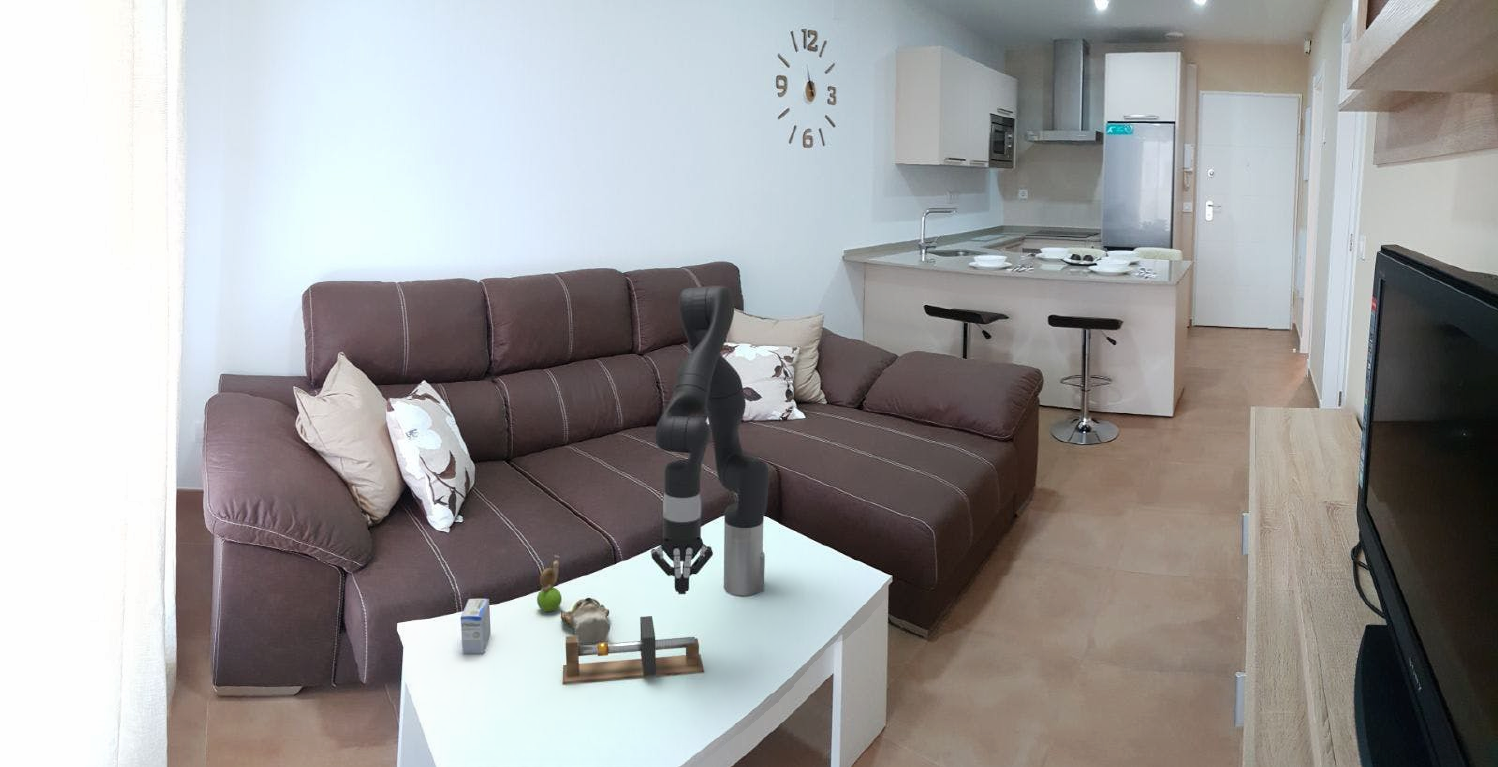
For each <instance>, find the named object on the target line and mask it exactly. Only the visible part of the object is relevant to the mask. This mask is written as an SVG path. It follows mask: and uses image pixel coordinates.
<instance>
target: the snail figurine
mask: <svg viewBox="0 0 1498 767" xmlns="http://www.w3.org/2000/svg"><path fill="white" fill-rule="evenodd" d="M554 558H555V559H559V558H560V556H559V555H554ZM552 565H553V568H551V567H547V568H545V569H543V571H541V573H540V576H539V583H540V586H542V587H541V590H540V591H539V592H538V594H537V597H536V602H537V606H538V607H539V609H540V610H542V611H545V612H553V611H556V610H557V609H558V608H559V607H560V605H561V604H562V594H561V592H560V591H559V590H558V588H555V587H554V586H555V584H556V583H557V580H558V576H559V565H560V561H559V560H554V561H553V563H552Z"/></svg>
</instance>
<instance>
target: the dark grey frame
mask: <svg viewBox="0 0 1498 767" xmlns="http://www.w3.org/2000/svg"><path fill="white" fill-rule="evenodd" d="M639 620H640V621H639V624H640V627H639V628H640V641H642V649H643V651H640V656H641V658H640V659H642V667H643V675H644V676H649V675H656V658H657V656H656V651H657V650H655V640H656V633H655V627H654V626H655V625H654V622H653V621H654V620H653V616H652V615H647V616H639Z"/></svg>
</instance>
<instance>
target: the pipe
mask: <svg viewBox="0 0 1498 767" xmlns="http://www.w3.org/2000/svg"><path fill="white" fill-rule="evenodd" d="M695 638H696V637H695V636H686V637H685V636H684V637H674V638H661V639H660V638H659V639H655V650H656V651H660V650H661V651H662V650H673V649H686V648H687V645H694V644H695ZM641 651H643V649H642V641H641V640H636V641H635V640H634V641H623V642H622V641H621V642H611V643H610V642H608V641H601V642H598V643H596V644H593V645H592V644H583V645H578V656H579V657H584V656H585V657H587V656H597V657H604V656H609V654H610V655H611V654H612V655H613V654H622V653H623V654H624V653H625V654H626V653H633V652H634V653H636V652H641Z"/></svg>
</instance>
